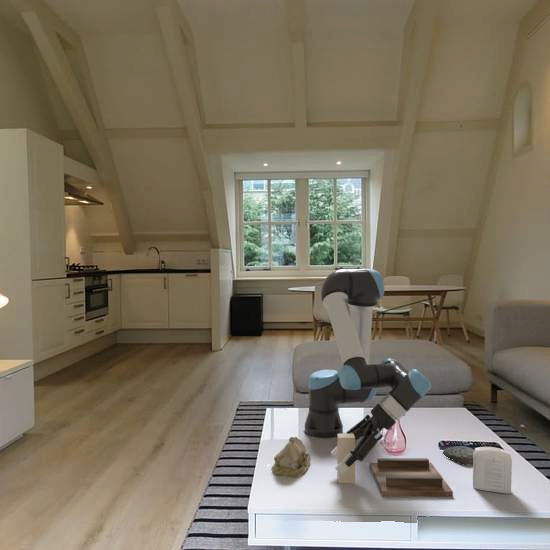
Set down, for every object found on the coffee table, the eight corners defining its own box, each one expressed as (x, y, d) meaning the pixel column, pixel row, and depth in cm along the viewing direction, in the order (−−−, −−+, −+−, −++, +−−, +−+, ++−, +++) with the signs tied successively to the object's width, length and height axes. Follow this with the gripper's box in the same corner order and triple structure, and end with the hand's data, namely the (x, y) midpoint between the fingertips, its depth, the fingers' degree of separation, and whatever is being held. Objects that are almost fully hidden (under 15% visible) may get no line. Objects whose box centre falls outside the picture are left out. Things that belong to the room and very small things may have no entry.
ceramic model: (298, 481, 135) (298, 449, 134) (266, 473, 140) (266, 442, 140) (316, 462, 147) (316, 433, 147) (286, 455, 152) (286, 427, 152)
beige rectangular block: (337, 478, 136) (337, 433, 135) (353, 478, 136) (353, 433, 135) (338, 483, 133) (338, 437, 132) (355, 483, 133) (355, 437, 132)
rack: (369, 467, 143) (369, 454, 143) (431, 467, 143) (431, 454, 143) (382, 496, 125) (382, 482, 125) (452, 496, 125) (452, 482, 125)
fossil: (470, 470, 142) (471, 458, 141) (437, 454, 153) (437, 443, 152) (489, 462, 147) (489, 451, 147) (455, 448, 158) (455, 437, 158)
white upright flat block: (509, 488, 129) (510, 446, 129) (512, 495, 125) (513, 453, 125) (471, 483, 132) (472, 442, 132) (473, 490, 128) (474, 448, 128)
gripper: (407, 435, 122) (350, 490, 123) (387, 408, 145) (339, 455, 145) (388, 416, 122) (331, 472, 123) (371, 392, 145) (323, 439, 145)
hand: (336, 463), depth 134 cm, fingers open, 10 cm apart
